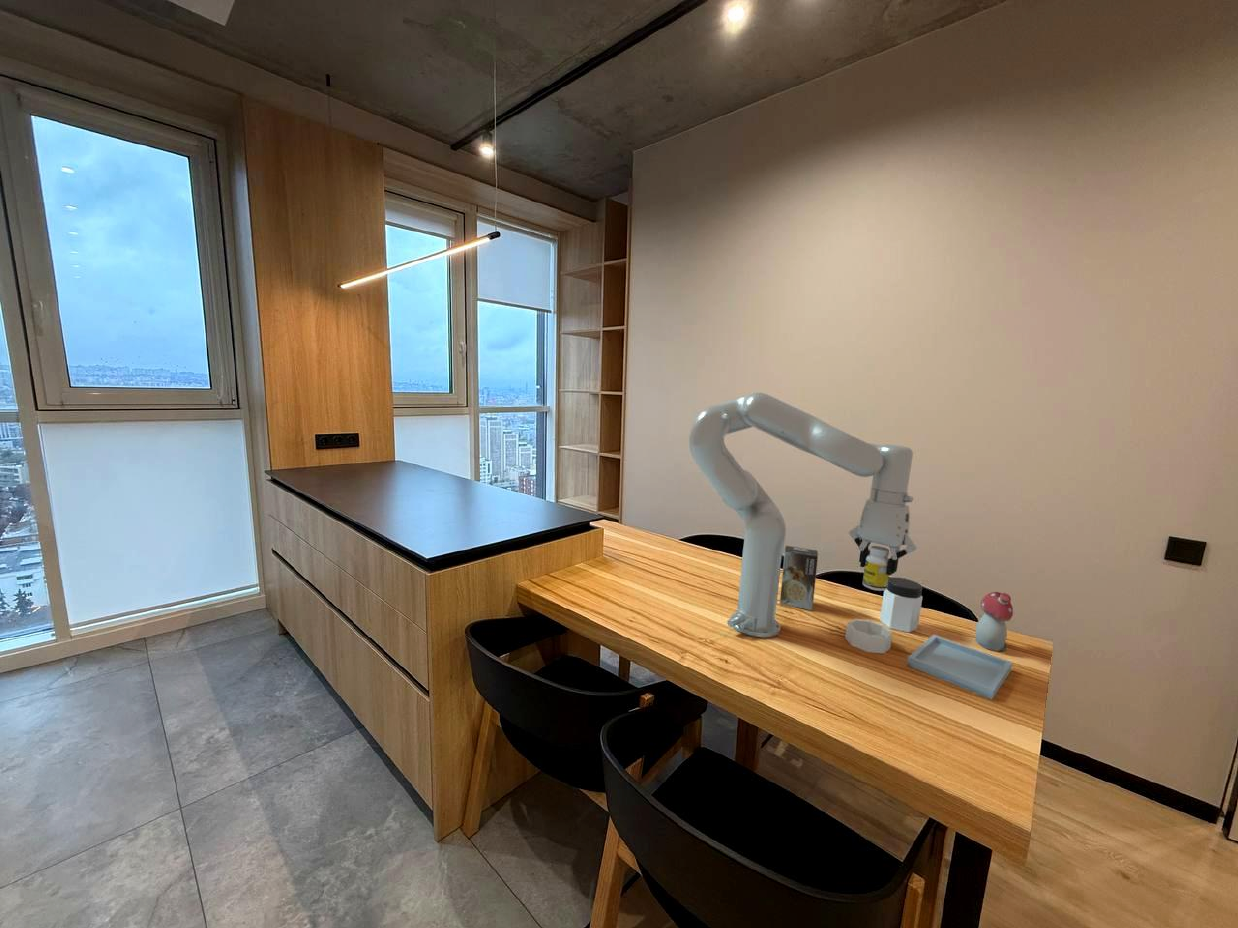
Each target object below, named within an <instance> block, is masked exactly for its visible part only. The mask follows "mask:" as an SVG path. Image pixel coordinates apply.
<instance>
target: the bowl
mask: <svg viewBox="0 0 1238 928" xmlns="http://www.w3.org/2000/svg"><path fill="white" fill-rule="evenodd" d="M845 630H846V631H845V639H846V640H847V642H848V643H849V644H850V646H852V647H854V648H857V649H858V650H859V649H860V650H862V651H864V652H867V653H873V654H875V653H876V654H886V652H888V651H889V650H891V645H892V638H893V632H892V631H891V630H890V629H889V628H887V626H886V625H885V624H881V623H878V622H875V621H873V620H869V619H858V618H854V619H851V620H850V621H848V622H847V623H846V629H845Z"/></svg>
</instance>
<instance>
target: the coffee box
mask: <svg viewBox="0 0 1238 928" xmlns="http://www.w3.org/2000/svg"><path fill="white" fill-rule="evenodd" d="M784 547H785V548H784V554H783V555H784V556H783V566H782V575H781V576H782V577H781V587H780V595H779V598H780V599H779V605H783V606H787V607H793V608H799V609H804V610H808V611H813V609H814V607H813V606H814V597H815V589H816V588H815V587H816V580H817V569H818V567H817V566H818V557H819V552H818V550H816V549H809V548H803V547H796V546H790V545H785V546H784Z"/></svg>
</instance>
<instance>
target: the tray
mask: <svg viewBox="0 0 1238 928" xmlns="http://www.w3.org/2000/svg"><path fill="white" fill-rule="evenodd" d="M906 665H907V666H908V667H911V668H913V669H915V670H919V671H921V672H923V673H925V674H927V675H930V676H932V677H935V678H938V679H940V680H942V681H945V682H947V683H950V684H952V685H954V686H957V687H959V688H962V689H964V690H966V691H969V692H972V693H974V694H977V695H980V696H982V697H984V698H987V699H989V700H993V699H994V698H995V696H996V694H997V693H998V691H999V690H1000V689H1001V687H1002V685H1003V683H1004V682H1005V681H1006V679H1007V677H1009V674H1010V673H1011V671H1012V667H1013V662H1012V661H1009V660H1006V659H1003V658H1001V657H998V656H995V655H993V654H990V653H987V652H984V651H981V650H978V649H976V648H972V647H970V646H968V645H964V644H961V643H959V642H956V641H953V640H950V639H947V638H945V637H941V636H938V635H936V634H932V635H931V636H930V637H928V638H927V640H925V641H924V642H923V643H922V644H921V645H920V646H918V648H916V649H915V650H914V651H913V652H912V653H911V654H910V655H908V657H907V664H906Z"/></svg>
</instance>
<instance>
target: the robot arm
mask: <svg viewBox="0 0 1238 928" xmlns="http://www.w3.org/2000/svg"><path fill="white" fill-rule="evenodd" d="M751 428H755V429H757V430H758V431H761V432H763V433H765V434H768V435H769V436H771V437H773V438H776V439H778V440H779V441H782V442H784V443H785V444H788V445H790V446H792V447H794V448H796V449H798V450H800V451H802V452H805V453H808V454H810V455H813V456H815V457H818V458H820V459H822V460H824V461H826V462H828V463H831V464H833V465H834V466H837V467H839V468H840V469H843V470H845V471H847V472H849V473H851V474H853V475H855V476H858V477H861V478H869V477H872V481H871V485H870V486H871V488H870V494H869V498H868V499H866V501H865V503H864V506H863V509H862V511H861V516H860V520H859V523H858V524H857V526H855V527H854V528H853V529H851V530H849V531H848V534H849V536H850V537H851V538H852V540H853V541H854V543H855V544H856V546H857V547H858V550H859V551H860V552H859V559H858V563H859V564H860V565H859V566H860V568H865V561H866V557H867V556H868V555H870V554H871V553H870V549H869V548H870V547H871V546H870V545H871V544H872V543H875V544H878V545H882V546H885V547H888V548H889V554H890V557H889V560H888V566H887V573H886V574H887V575H889V577H890V576H891V575H893V574H895V573H897V570H898V565H899V559H900V558H903V557H904V556H906V555H908V554H910V553H913V552H914V551H916V550H917V546H916V545H915V543H914V542H913V540H912V539H911V538H910V535H909V534H910V518H911V517H910V516H911V515H910V514H911V513H910V506H909V505H907V503H913V501H914V497H913V496H910V495H909V493H908V490H909V489H908V488H909V482H910V477H911V470H912V463H913V455H914V452H913V449H911V448H910V447H908V446H904V445H896V444H895V445H894V444H874V443H869V442H866V441H864V440H862V439H860V438H857V437H855V436H853V435H851V434H849V433H847V432H844V431H843V430H841V429H839V428H836V427H835V426H833V425H830V424H829V423H826V422H825V421H824V420H822V419H820V418H818V417H816V416H814V415H812V414H810V413H807V412H805V411H804V410H802V409H800V408H797V407H795V406H793V405H791V404H788V403H787V402H784V401H782V400H779V399H778V398H776V397H773V396H772V395H769V394H768V393H764V392H759V391H757V392H753V393H749V394H746V395H745V396H742V397H739V398H735V399H732V400H729V401H725V402H722V403H719V404H714V405H711V406H707V407H706V408H703V409H702V410H701V411H700V412H699V413H698V414H697V416H696V418H695V419H694V421H693V423H692V427H691V429H690V432H689V437H688V440H689V441H688V442H689V451H690V453H691V456H692V458H693V460H694V461H695V464H696V465H697V467H698V468H699V469H700V470H701V472H702V473H703V474H704V476H705V478H706V479H707V480H708V481H709V484H710V485H711V486H712V488H714V490H715V492H716V493H718V495H719V496H720V498H721V500H722V501H723V503H724V504H725V505H726V506H728V507H729V508H730V509H732V510H734V511H735V512H736V513H737V515H738V517H740V519H741V520H742V521H743V523H744V538H743V539H744V540H743V548H742V558H741V569H740V576H739V577H740V578H739V579H740V580H739V588H738V600H737V608H736V609H737V610H735V612H734V613H732V614H731V615H730V619H728V620H727V622H726V623H727V625H728V627H729V628H733V629H734V630H736V631H737V632H739V633H741V634H743V635H747V636H750V637H755V638H772V637H775V636H777V635H779V634H780V632H781V625H780V623H779V621H777V620H776V613H777V609H776V608H777V605H778V604H777V602H778V594H779V585H780V584H779V583H780V575H781V565H782V558H783V551H784V547H785V542H786V533H787V530H786V528H787V527H786V523H785V519H784V517H783V515H782V512H781V511H780V509H779V508H778V506H777V505H776V504H775V503H774V501H773V499H771V496H769V495H768V492H766V490H765V489H764V488H763V487H762V486H761V484H760V483H759V481H758V480H757V479H756V478H755V476H753V474H752V473H751V472H749V470H745V469H743V467H742V466H741V465H740V464H739V462H737V460H736V459H735V457H734V456H733V454H732V453H731V452H730V451H729V450H728V448H727V446H726V443H725V437H726V436H727V435H730V434H734V433H738V432H741V431H743V430H747V429H751ZM905 545H906V548H904V549H902V550H901V549H900V547H902V546H905Z"/></svg>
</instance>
